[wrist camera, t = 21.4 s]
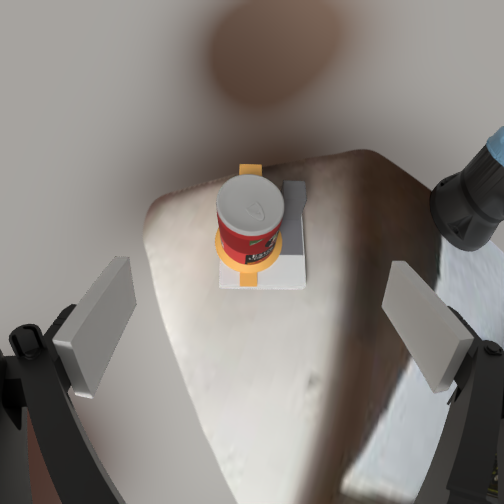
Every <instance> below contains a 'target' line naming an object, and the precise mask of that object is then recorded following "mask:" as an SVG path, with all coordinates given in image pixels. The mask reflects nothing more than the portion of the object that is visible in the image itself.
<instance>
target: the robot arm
mask: <svg viewBox="0 0 504 504" xmlns="http://www.w3.org/2000/svg"><path fill="white" fill-rule="evenodd" d="M430 209H431V213H432V216H433V219H434V222H435V224H436V226H437V227H438V229H439V231H440V232H441V233H442V235H443V236H444V237H445V238H446V239H447V240H448V241H449V242H450V243H451V244H452V245H454V246H455V247H457V248H459V249H461V250H464V251H475V250H478V249H479V248H481V247H482V246H484V245H485V244H486V243H487V242H488V241H489V240H490V238H491V236H492V234H493V233H494V231H495V230H496V228H497V226H498V225H499V223H500V222H501V221H503V220H504V126H502V127H501V128H500V129H499V130H498V131H497V132H496V133H495V134H494V135H493V136H491V137H490V138H489V139H488V140H487V143H486V145H485V146H484V147H483V148H482V149H481V150H480V151H479V153H478V154H477V155H476V156H475V157H474V158H473V159H472V160H471V162H470V163H469V164H468V165H467V166H466V167H465V168H464V169H463V170H462V171H461V172H458V173H456V174H454V175H451V176H449V177H447V178H445V179H443V180H441V181H440V182H439V183H438V184H437V186H436V187H435V188H434V189H433V191H432V193H431V197H430ZM135 307H136V298H135V293H134V286H133V280H132V273H131V267H130V259H129V257H117V256H115V257H114V259H113V260H112V261H111V262H110V263H109V265H108V266H107V267H106V268H105V270H104V271H103V272H102V273H101V275H100V276H99V277H98V278H97V280H96V281H95V282H94V283H93V285H92V286H91V287H90V289H89V290H88V291H87V293H86V294H85V295H84V297H83V298H82V299H81V300H80V302H79V303H78V304H77V305H75V304H71V305H70V306H68V307H67V308H65V309H64V310H63V311H62V312H61V313H60V314H59V316H58V317H57V319H56V320H55V321H54V322H53V325H51V326H50V328H49V329H48V330H47V332H46V333H45V334H44V336H43V335H42V332H41V330H40V328H39V327H38V326H37V325H35V324H26V325H22V326H19V327H18V328H16V329H15V330H13V331H12V333H11V334H10V335H9V342H10V344H11V347H12V349H13V351H14V353H15V355H16V356H3V353H2V351H1V350H0V504H33V503H32V495H31V487H30V478H29V465H28V448H27V447H28V446H27V407H28V411H29V414H30V418H31V421H32V425H33V428H34V431H35V435H36V438H37V441H38V444H39V447H40V450H41V453H42V455H43V458H44V461H45V464H46V466H47V469H48V471H49V474H50V477H51V479H52V481H53V484H54V486H55V488H56V491H57V493H58V495H59V497H60V500H61V502H62V504H126V503H125V501H124V499H123V498H122V496H121V495H120V493H119V491H118V490H117V488H116V487H115V485H114V483H113V482H112V480H111V478H110V477H109V475H108V473H107V472H106V470H105V468H104V467H103V465H102V463H101V461H100V459H99V458H98V456H97V454H96V452H95V450H94V448H93V446H92V444H91V442H90V440H89V438H88V436H87V434H86V432H85V430H84V428H83V426H82V424H81V422H80V419H79V417H78V415H77V413H76V411H75V408H74V406H73V404H72V401H71V399H70V397H69V395H68V393H67V392H68V390H69V388H70V386H72V388H73V390H74V392H75V394H76V395H78V396H82V397H88V398H93V397H94V395H95V392H96V390H97V388H98V386H99V383H100V381H101V378H102V376H103V374H104V372H105V370H106V368H107V365H108V363H109V361H110V359H111V357H112V354H113V352H114V350H115V348H116V346H117V344H118V341H119V340H120V337H121V335H122V333H123V331H124V329H125V327H126V325H127V323H128V321H129V319H130V317H131V315H132V313H133V311H134V309H135ZM382 308H383V310H384V311H385V313H386V314H387V316H388V318H389V319H390V321H391V322H392V324H393V326H394V327H395V329H396V330H397V332H398V334H399V335H400V337H401V338H402V340H403V342H404V343H405V345H406V347H407V348H408V350H409V352H410V353H411V355H412V357H413V358H414V360H415V362H416V363H417V365H418V367H419V369H420V370H421V372H422V374H423V376H424V377H425V379H426V381H427V383H428V384H429V386H430V388H431V390H432V391H433V393H438V392H442V391H447V390H448V389H449V387H450V385H451V384H452V382H453V380H454V381H455V382H456V384H457V385H458V386H457V387H456V389H455V391H454V393H453V394H452V396H451V398H450V399H449V401H448V403H447V404H448V405H449V404H450V402H451V405H450V408H449V412H448V415H447V419H446V422H445V425H444V428H443V431H442V434H441V437H440V440H439V443H438V446H437V449H436V452H435V454H434V457H433V460H432V462H431V465H430V468H429V470H428V472H427V475H426V477H425V480H424V482H423V484H422V487H421V489H420V491H419V493H418V496H417V498H416V500H415V502H414V504H492V503H491V502H490V501H487V500H486V495H487V491H488V487H489V483H490V479H491V474H492V470H493V465H494V460H495V455H496V449H497V464H498V504H504V351H503V349H502V348H501V347H500V346H499V345H498V344H497V343H495V342H493V341H489V340H484V341H482V340H481V338H480V337H479V336H478V335H477V334H476V332H475V331H474V330H473V329H472V328H471V327H470V325H468V323H467V322H466V321H465V320H464V319H463V317H462V316H461V315H460V314H459V313H458V312H457V311H456V310H454V309H453V308H451V307H450V306H446V304H445V303H444V302H443V301H442V300H441V299H440V298H439V297H438V296H437V294H436V293H435V292H434V291H433V290H432V289H431V288H430V287H429V286H428V285H427V284H426V283H425V282H424V280H423V279H422V278H421V277H420V276H419V275H418V274H417V273H416V272H415V271H414V270H413V269H412V268H411V267H410V266H409V265H408V264H407V263H406V262H405V261H392V265H391V270H390V274H389V279H388V283H387V287H386V291H385V295H384V299H383V303H382Z"/></svg>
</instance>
